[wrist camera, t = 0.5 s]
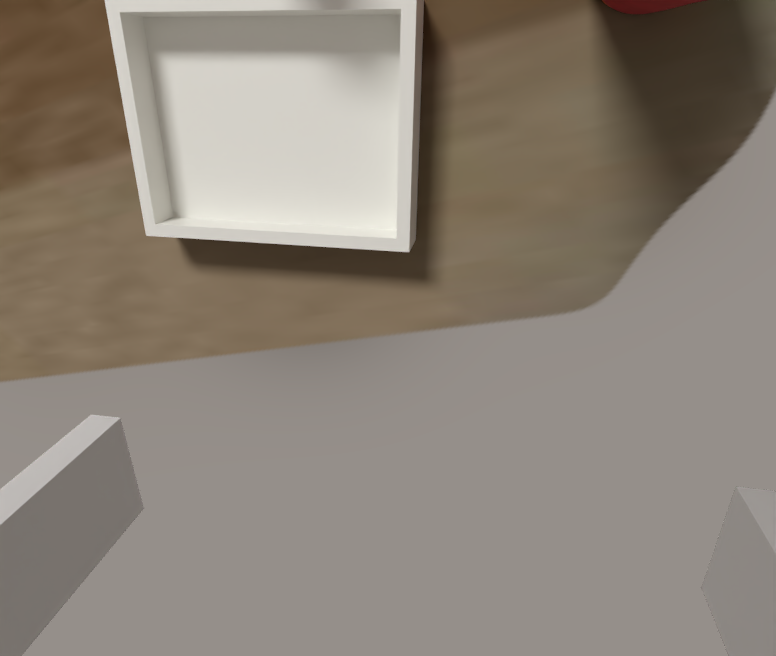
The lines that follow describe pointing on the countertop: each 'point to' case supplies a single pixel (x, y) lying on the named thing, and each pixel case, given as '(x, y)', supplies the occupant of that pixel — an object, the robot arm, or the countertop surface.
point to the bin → (274, 118)
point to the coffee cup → (646, 5)
